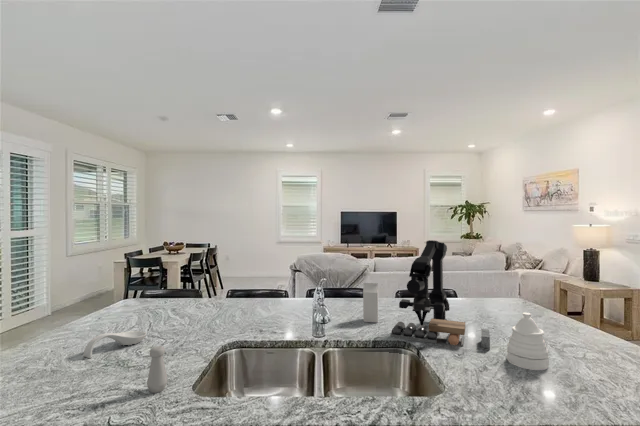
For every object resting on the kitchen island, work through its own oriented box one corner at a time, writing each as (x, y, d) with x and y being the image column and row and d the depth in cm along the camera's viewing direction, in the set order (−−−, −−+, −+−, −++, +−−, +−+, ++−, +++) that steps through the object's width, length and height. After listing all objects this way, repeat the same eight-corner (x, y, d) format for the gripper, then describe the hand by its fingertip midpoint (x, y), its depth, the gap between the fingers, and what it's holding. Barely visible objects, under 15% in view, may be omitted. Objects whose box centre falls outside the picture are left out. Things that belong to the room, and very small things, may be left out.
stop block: (481, 340, 146) (481, 328, 146) (489, 341, 145) (489, 329, 145) (481, 348, 137) (481, 336, 137) (490, 350, 136) (489, 337, 136)
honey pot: (549, 373, 116) (548, 319, 116) (506, 364, 123) (505, 314, 123) (548, 359, 127) (547, 310, 127) (508, 352, 133) (507, 306, 134)
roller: (451, 338, 151) (449, 328, 152) (461, 337, 150) (458, 327, 150) (449, 345, 142) (447, 336, 143) (459, 345, 141) (457, 335, 141)
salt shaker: (151, 385, 109) (151, 344, 109) (170, 384, 110) (170, 343, 110) (143, 395, 103) (143, 351, 103) (163, 394, 104) (163, 350, 104)
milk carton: (377, 322, 172) (377, 284, 172) (363, 322, 173) (363, 284, 173) (378, 318, 179) (377, 282, 179) (364, 318, 180) (364, 281, 180)
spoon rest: (135, 337, 155) (135, 320, 155) (152, 341, 149) (152, 324, 149) (77, 355, 134) (78, 337, 134) (95, 361, 128) (95, 342, 128)
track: (397, 328, 163) (397, 320, 163) (464, 337, 150) (464, 328, 150) (390, 337, 151) (390, 328, 151) (463, 347, 139) (463, 337, 139)
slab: (431, 324, 155) (431, 318, 155) (465, 328, 149) (465, 322, 149) (428, 330, 146) (428, 324, 146) (464, 335, 140) (464, 329, 140)
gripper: (396, 291, 148) (396, 327, 148) (442, 295, 141) (442, 333, 141) (401, 286, 159) (401, 320, 158) (444, 289, 151) (444, 325, 151)
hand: (421, 325), depth 152 cm, fingers closed
